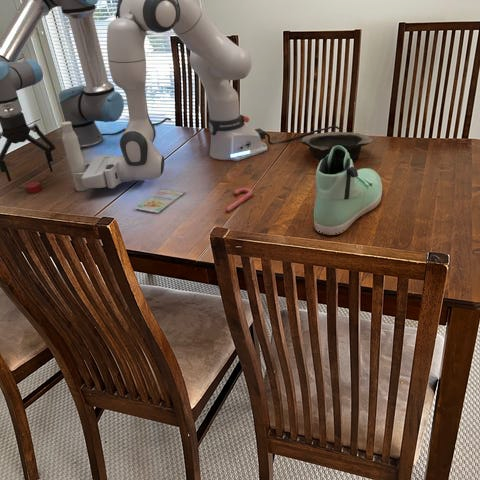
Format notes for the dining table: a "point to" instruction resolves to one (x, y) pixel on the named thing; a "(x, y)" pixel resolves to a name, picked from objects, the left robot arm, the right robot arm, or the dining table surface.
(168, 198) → the baking ingredient package
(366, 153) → the dining table surface
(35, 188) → the cap
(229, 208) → the candy cane
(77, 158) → the bottle
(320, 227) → the sneaker
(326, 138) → the stone bowl
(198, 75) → the right robot arm
